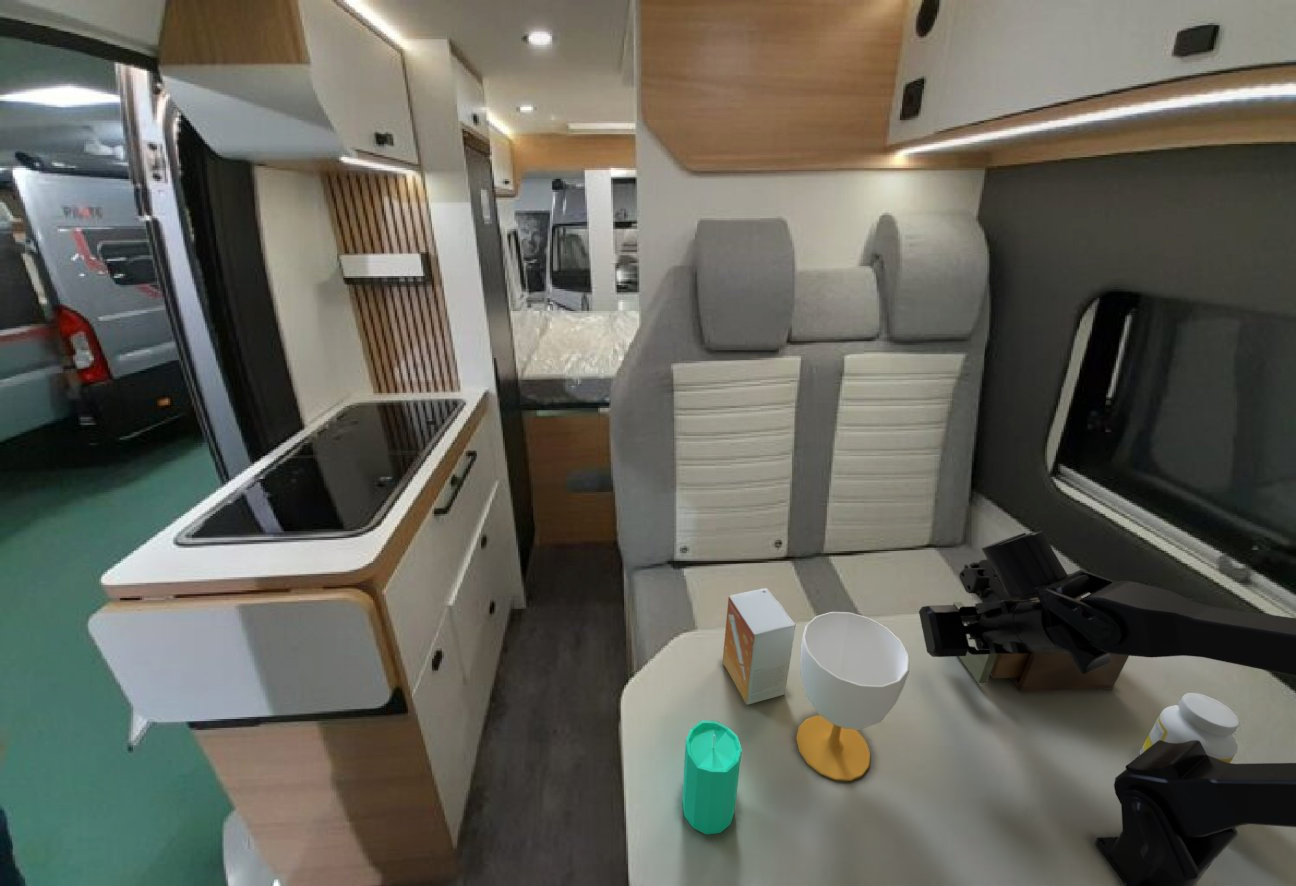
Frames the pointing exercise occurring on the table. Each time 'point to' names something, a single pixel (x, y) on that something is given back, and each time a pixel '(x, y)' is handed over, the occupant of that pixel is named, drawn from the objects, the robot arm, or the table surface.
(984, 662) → the drawer
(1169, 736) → the pill bottle
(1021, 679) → the cabinet
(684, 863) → the table surface
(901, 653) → the cup
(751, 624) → the small box
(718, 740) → the candle
